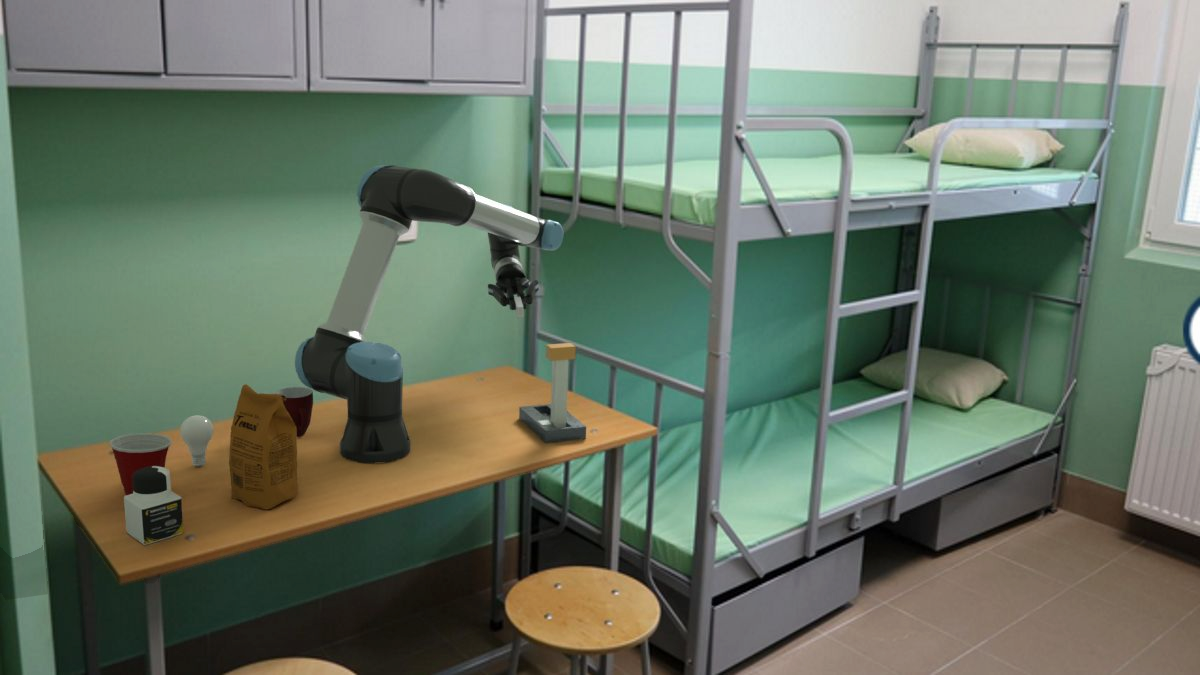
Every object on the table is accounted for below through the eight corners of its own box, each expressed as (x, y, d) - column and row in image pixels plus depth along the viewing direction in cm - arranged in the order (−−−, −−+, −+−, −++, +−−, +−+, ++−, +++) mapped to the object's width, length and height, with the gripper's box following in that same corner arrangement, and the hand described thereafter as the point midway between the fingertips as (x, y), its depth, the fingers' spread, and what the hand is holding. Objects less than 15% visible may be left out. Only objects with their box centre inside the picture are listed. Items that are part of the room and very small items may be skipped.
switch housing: (519, 418, 248) (519, 406, 247) (557, 414, 252) (557, 402, 252) (545, 443, 232) (546, 430, 232) (585, 438, 236) (586, 425, 236)
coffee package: (264, 482, 204) (260, 377, 199) (306, 498, 198) (302, 389, 192) (221, 497, 196) (216, 388, 191) (263, 514, 190) (258, 402, 184)
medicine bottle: (144, 546, 175) (139, 481, 172) (125, 533, 180) (120, 469, 177) (184, 534, 180) (180, 470, 177) (165, 521, 185) (161, 459, 182)
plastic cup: (186, 499, 194) (182, 440, 192) (129, 515, 187) (124, 454, 184) (159, 483, 201) (155, 425, 198) (103, 498, 194) (98, 438, 191)
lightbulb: (182, 462, 212) (178, 412, 209) (214, 459, 215) (211, 409, 212) (183, 473, 207) (179, 422, 204) (216, 470, 209) (213, 419, 206)
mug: (326, 438, 229) (325, 396, 227) (293, 446, 224) (291, 403, 221) (303, 426, 237) (302, 385, 234) (270, 433, 231) (269, 391, 229)
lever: (543, 425, 239) (546, 344, 234) (567, 422, 241) (570, 342, 236) (548, 429, 236) (551, 348, 231) (572, 426, 238) (575, 346, 233)
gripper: (536, 288, 264) (548, 324, 243) (485, 292, 262) (493, 329, 241) (534, 260, 261) (547, 295, 240) (483, 265, 259) (491, 300, 237)
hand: (520, 312), depth 240 cm, fingers closed
